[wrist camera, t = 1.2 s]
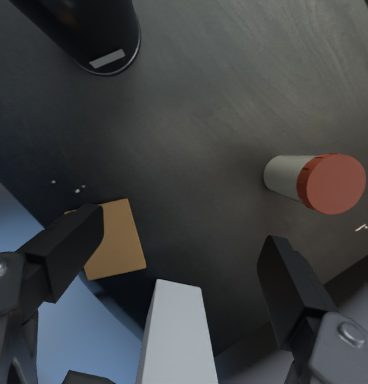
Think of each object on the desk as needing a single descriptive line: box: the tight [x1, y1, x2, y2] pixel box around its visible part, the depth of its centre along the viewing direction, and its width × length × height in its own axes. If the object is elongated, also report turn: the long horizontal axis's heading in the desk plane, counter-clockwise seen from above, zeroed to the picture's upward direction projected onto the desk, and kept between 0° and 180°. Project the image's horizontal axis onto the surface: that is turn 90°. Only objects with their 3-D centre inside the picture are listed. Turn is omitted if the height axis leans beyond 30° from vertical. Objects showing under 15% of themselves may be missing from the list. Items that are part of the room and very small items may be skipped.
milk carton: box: [135, 279, 218, 384], centre depth 23 cm, size 7×7×19 cm
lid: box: [296, 154, 366, 214], centre depth 20 cm, size 6×6×2 cm
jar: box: [263, 155, 320, 205], centre depth 24 cm, size 6×6×9 cm
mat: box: [65, 198, 146, 281], centre depth 29 cm, size 11×9×1 cm
